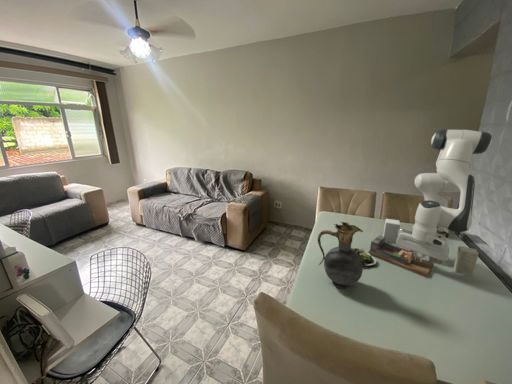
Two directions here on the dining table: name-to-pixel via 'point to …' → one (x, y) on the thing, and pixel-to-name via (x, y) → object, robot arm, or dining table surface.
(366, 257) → the salad plate
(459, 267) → the skincare box
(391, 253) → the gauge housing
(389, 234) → the supplement box
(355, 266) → the pitcher
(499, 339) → the dining table surface
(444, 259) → the robot arm
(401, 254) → the block
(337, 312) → the dining table surface
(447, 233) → the coffee box
